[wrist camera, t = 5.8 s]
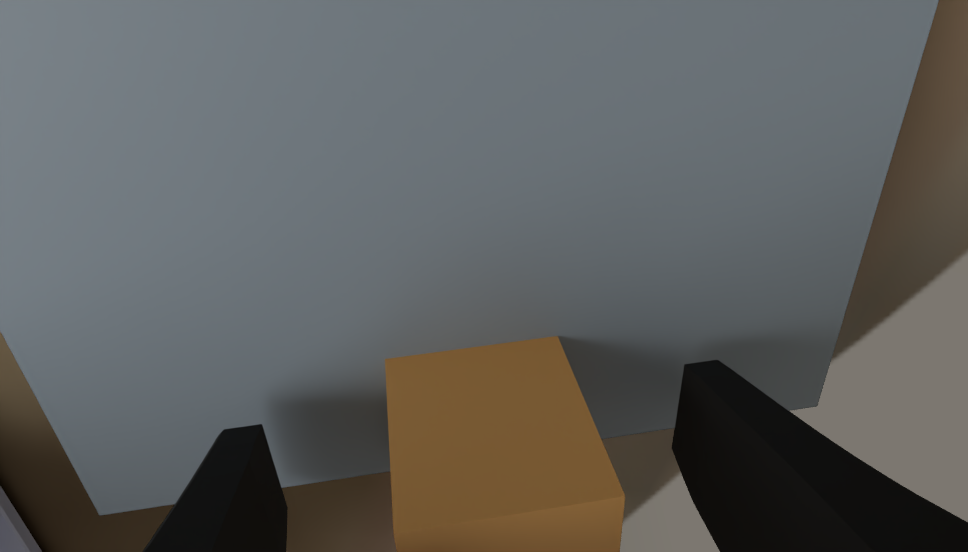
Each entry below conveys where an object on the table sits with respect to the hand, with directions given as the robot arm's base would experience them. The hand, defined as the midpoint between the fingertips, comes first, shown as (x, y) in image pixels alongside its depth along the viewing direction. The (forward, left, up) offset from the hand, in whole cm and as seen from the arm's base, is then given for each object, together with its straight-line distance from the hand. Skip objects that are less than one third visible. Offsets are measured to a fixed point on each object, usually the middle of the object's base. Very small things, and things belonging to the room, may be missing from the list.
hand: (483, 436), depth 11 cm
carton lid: (0, +5, -1) cm, 5 cm away
